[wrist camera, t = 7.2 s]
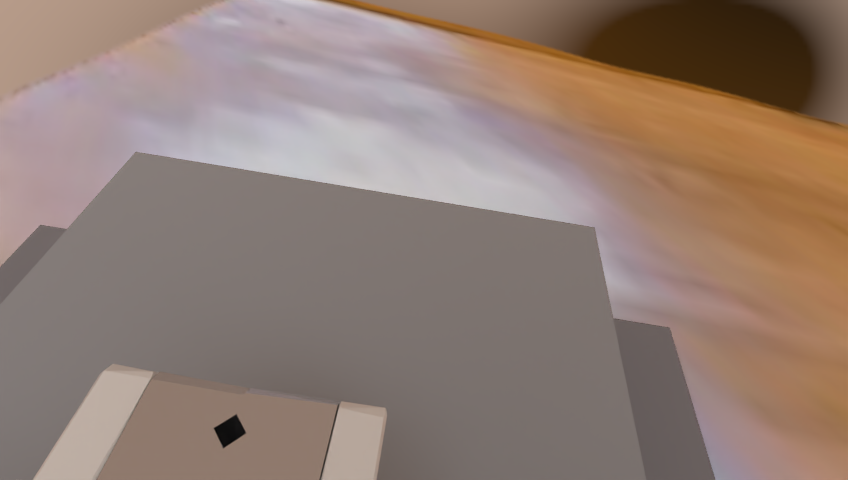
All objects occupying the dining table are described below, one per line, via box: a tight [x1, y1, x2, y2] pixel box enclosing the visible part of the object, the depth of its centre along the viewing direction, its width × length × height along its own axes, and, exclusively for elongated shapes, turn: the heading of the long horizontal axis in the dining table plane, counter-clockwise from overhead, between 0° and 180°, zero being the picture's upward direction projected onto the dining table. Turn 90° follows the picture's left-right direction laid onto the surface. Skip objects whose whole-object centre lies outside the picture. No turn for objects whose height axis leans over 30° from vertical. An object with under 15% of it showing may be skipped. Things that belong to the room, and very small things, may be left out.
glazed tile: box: [0, 152, 646, 480], centre depth 16 cm, size 12×3×12 cm
